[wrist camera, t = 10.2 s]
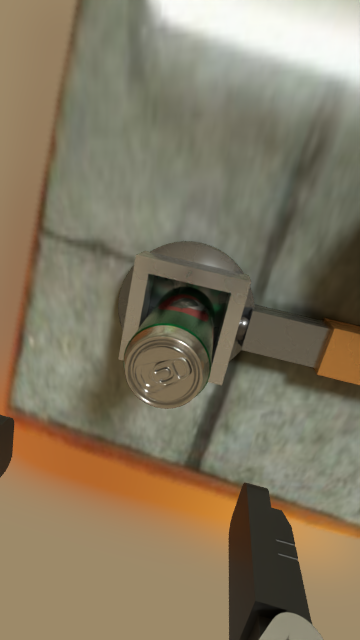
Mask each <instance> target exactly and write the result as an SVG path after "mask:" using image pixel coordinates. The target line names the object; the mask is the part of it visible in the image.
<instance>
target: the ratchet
mask: <svg viewBox="0 0 360 640" xmlns="http://www.w3.org/2000/svg"><path fill="white" fill-rule="evenodd" d="M250 285H251V280H250V277H249V275H246V274H244V273H243V271H242V270H241V268H240V267H239V266H238V265H237V264H236V263H235V261H234V260H233V259H231V258H230V257H229V256H228V255H227V254H225V253H224V252H222V251H220V250H219V249H217V248H215V247H212V246H210V245H207V244H203V243H199V242H193V241H182V242H174V243H170V244H166V245H163V246H161V247H158V248H156V249H154V250H153V251H151V252H148V251H143V252H141V253H139V254H136V258H135V264H134V266H133V267H132V268H131V270H130V271H129V272H128V274H127V276H126V278H125V279H124V282H123V284H122V287H121V290H120V295H119V303H118V311H119V319H120V323H121V327H122V330H123V335H122V340H121V346H120V352H119V358H118V359H119V360H123V359H124V353H125V349H126V347H127V345H128V342H129V341H130V340H131V338H132V337H133V336H134V334H135V333H136V332H137V330H138V329H139V327H140V326H141V325H142V323H143V322H144V321H145V319H146V318H147V317H148V315H149V314H150V313H151V311H152V310H153V309H154V307H155V306H156V305H157V303H158V302H159V301H160V299H161V298H162V297H163V296H164V295H165V294H166V293H167V292H168V291H170V290H172V289H174V288H177V287H182V286H187V287H193V288H196V289H198V290H200V291H202V292H203V293H204V294H205V295H206V296H207V297H208V298H209V299H210V301H211V303H212V305H213V307H214V312H215V321H214V335H213V348H212V362H211V372H210V377H209V380H208V382H211V383H215V384H219V385H222V383H223V379H224V376H225V372H226V369H227V365H228V362H229V361H230V360H231V359H233V358H234V357H235V356H236V355H237V354H238V353H239V352H240V350H244V351H248V352H252V353H256V354H260V355H264V356H268V357H272V358H276V359H280V360H284V361H289V362H293V363H297V364H301V365H305V366H309V367H313V369H314V370H315V372H316V374H317V375H321V376H325V377H329V378H333V379H337V380H341V381H345V382H349V383H353V384H357V385H360V326H357V325H353V324H349V323H345V322H340V321H336V320H332V319H328V318H324V319H323V321H322V320H318V319H313V318H309V317H305V316H301V315H296V314H292V313H288V312H284V311H280V310H275V309H271V308H267V307H263V306H259V305H254V299H253V294H252V291H251V288H250Z"/></svg>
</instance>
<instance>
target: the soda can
mask: <svg viewBox="0 0 360 640" xmlns="http://www.w3.org/2000/svg"><path fill="white" fill-rule="evenodd" d="M214 321H215V312H214V307H213V305H212V303H211V301H210V299H209V298H208V297H207V296H206V295H205V294H204V293H203V292H202V291H200V290H198V289H196V288H193V287H187V286H182V287H177V288H174V289H172V290H170V291H168V292H167V293H166V294H165V295H164V296H163V297H162V298H161V299H160V301H159V302H158V303H157V305H156V306H155V307H154V309H153V310H152V311H151V313H150V314H149V315H148V317H147V318H146V319H145V321H144V322H143V323H142V325H141V326H140V327H139V329H138V330H137V332H136V333H135V334H134V336H133V337H132V338H131V340H130V341H129V342H128V345H127V347H126V349H125V353H124V359H123V362H124V370H125V376H126V380H127V383H128V385H129V387H130V389H131V390H132V392H133V393H134V394H135V395H136V396H137V397H138V398H139V399H140V400H142V401H143V402H144V403H146V404H148V405H151V406H154V407H157V408H164V409H169V408H176V407H180V406H182V405H185V404H186V403H188V402H190V401H191V400H192V399H193V398H194V397H196V396H197V395H198V394H199V393H200V392H201V391H202V390H203V389H204V387H205V386H206V384H207V382H208V380H209V377H210V372H211V362H212V348H213V335H214Z"/></svg>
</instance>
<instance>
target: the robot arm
mask: <svg viewBox="0 0 360 640" xmlns="http://www.w3.org/2000/svg"><path fill="white" fill-rule="evenodd" d="M13 433H14V420H13V418H10V417H6V416H2V415H0V477H1V476H2V475H3V474H4V472H5V471H6V469H7V467H8V465H9V463H10V461H11V457H12V448H13ZM229 640H323V638H322V637H321V635H320V633H319V632H318V631H317V630H316V628H315V627H314V626H313V625H312V622H311V618H310V613H309V609H308V604H307V599H306V594H305V589H304V585H303V580H302V575H301V570H300V566H299V562H298V556H297V551H296V547H295V542H294V537H293V532H292V527H291V525H290V524H289V522H288V520H287V519H286V517H285V515H284V513H283V512H282V511H281V510H278V509H274V508H271V503H270V497H269V491H268V489H267V488H263V487H260V486H256V485H252V484H249V483H244V484H243V486H242V489H241V492H240V495H239V498H238V501H237V504H236V506H235V510H234V512H233V516H232V519H231V523H230V529H229Z"/></svg>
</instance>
